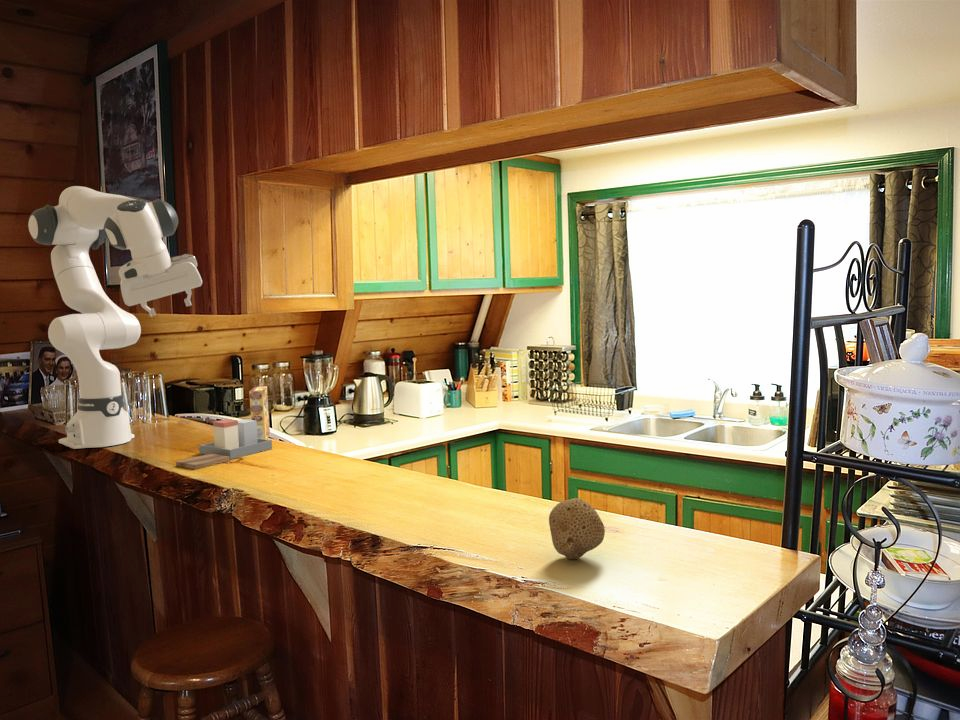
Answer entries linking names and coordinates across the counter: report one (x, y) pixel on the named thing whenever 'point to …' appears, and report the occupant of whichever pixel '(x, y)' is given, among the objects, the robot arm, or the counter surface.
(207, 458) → the walnut board
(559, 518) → the natural sponge
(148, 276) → the robot arm
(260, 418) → the candy box
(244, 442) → the tall white block
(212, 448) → the grey square frame
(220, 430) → the cream carton
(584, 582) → the counter surface
